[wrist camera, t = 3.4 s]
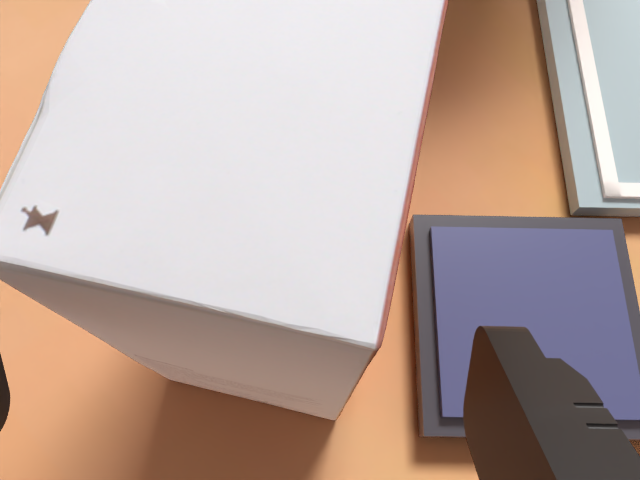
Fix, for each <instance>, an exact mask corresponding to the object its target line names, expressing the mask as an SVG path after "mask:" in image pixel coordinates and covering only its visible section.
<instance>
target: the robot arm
mask: <svg viewBox="0 0 640 480" xmlns="http://www.w3.org/2000/svg"><path fill="white" fill-rule="evenodd" d="M603 404H604V403H603V402H602V400H601V399H600V397H599V396H598V394H597V393H596V391H595V390H594V388H593V387H592V385H591V384H590V382H589V381H588V380H587V378H585V377H584V376H583V375H581V374H580V373H579V372H577V371H576V370H575V369H574V368H572V367H571V366H570V365H568V364H567V363H566V362H564V361H563V360H562V359H561V358H546V357H545V356H544V354H543V352H542V351H541V349H540V347H539V346H538V344H537V343H536V341H535V339H534V338H533V336H532V334H531V333H530V331H529V330H528V329H527V328H526V327H514V326H479V327H477V329H476V331H475V334H474V339H473V345H472V351H471V358H470V364H469V371H468V377H467V384H466V390H465V397H464V405H463V419H464V429H465V435H466V439H467V443H468V446H469V449H470V452H471V455H472V459H473V462H474V465H475V468H476V471H477V474H478V477H479V480H640V456H639V454H638V453H637V451H636V450H635V448H634V447H633V446H632V444H631V443H630V441H629V440H628V438H627V437H626V435H625V434H624V432H623V431H622V429H618V424H617V422H616V421H615V419H614V418H613V416H612V415H611V413H610V412H609V410H608V409H607V408H604V406H603ZM9 406H10V391H9V387H8V383H7V378H6V374H5V370H4V366H3V362H2V358H1V354H0V431H1V429H2V428H3V426H4V424H5V421H6V419H7V416H8V412H9Z"/></svg>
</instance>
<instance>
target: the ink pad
mask: <svg viewBox="0 0 640 480" xmlns="http://www.w3.org/2000/svg"><path fill="white" fill-rule="evenodd" d="M409 228H410V249H411V271H412V293H413V314H414V336H415V358H416V380H417V401H418V423H419V437H451V438H466V435H465V429H464V419H463V405H464V397H465V390H466V384H467V377H468V371H469V364H470V358H471V351H472V345H473V339H474V334H475V331H476V329H477V327H479V326H514V327H526V328H527V329H528V330H529V331H530V333H531V334H532V336H533V338H534V339H535V341H536V343H537V344H538V346H539V347H540V349H541V351H542V352H543V354H544V356H545V357H546V358H561V359H562V360H563V361H564V362H566V363H567V364H568V365H570V366H571V367H572V368H574V369H575V370H576V371H577V372H579V373H580V374H581V375H583V376H584V377H585V378H587V380H588V381H589V382H590V384H591V385H592V387H593V388H594V390H595V391H596V393H597V394H598V396H599V397H600V399H601V400H602V402H603V403H604V404H603V406H604V408H607V409H608V410H609V412H610V413H611V415H612V416H613V418H614V419H615V421H616V422H617V424H618V429H622V431H623V432H624V434H625V435H626V437H627V438H628V440H638V441H640V311H639V306H638V301H637V296H636V291H635V286H634V280H633V275H632V270H631V265H630V260H629V255H628V249H627V244H626V239H625V234H624V229H623V224H622V219H614V218H561V217H508V216H455V215H413V216H412V219H411V221H410V223H409Z"/></svg>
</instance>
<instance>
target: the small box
mask: <svg viewBox="0 0 640 480" xmlns="http://www.w3.org/2000/svg"><path fill="white" fill-rule="evenodd" d="M447 6H448V0H91V1H90V3H89V4H88V6H87V8H86V9H85V11H84V13H83V14H82V16H81V18H80V19H79V21H78V23H77V24H76V26H75V28H74V29H73V31H72V33H71V34H70V36H69V38H68V40H67V42H66V44H65V46H64V48H63V50H62V52H61V54H60V56H59V58H58V60H57V62H56V65H55V67H54V70H53V72H52V75H51V77H50V80H49V82H48V85H47V87H46V89H45V91H44V94H43V96H42V100H41V103H40V106H39V108H38V110H37V113H36V115H35V118H34V120H33V122H32V124H31V126H30V128H29V130H28V132H27V134H26V136H25V138H24V140H23V143H22V145H21V147H20V149H19V151H18V154H17V156H16V158H15V160H14V162H13V164H12V166H11V168H10V170H9V172H8V174H7V176H6V178H5V181H4V183H3V185H2V187H1V190H0V280H2V281H3V282H5V283H7V284H8V285H10V286H12V287H13V288H15V289H17V290H18V291H20V292H22V293H23V294H25V295H27V296H28V297H30V298H32V299H33V300H35V301H37V302H39V303H40V304H42V305H44V306H45V307H47V308H49V309H50V310H52V311H54V312H55V313H57V314H59V315H61V316H62V317H64V318H66V319H67V320H69V321H71V322H73V323H74V324H76V325H78V326H79V327H81V328H83V329H84V330H86V331H88V332H89V333H91V334H93V335H94V336H96V337H98V338H99V339H101V340H102V341H104V342H106V343H107V344H109V345H110V346H112V347H114V348H115V349H117V350H118V351H120V352H122V353H123V354H125V355H127V356H128V357H130V358H131V359H133V360H135V361H137V362H138V363H140V364H142V365H144V366H145V367H147V368H149V369H152V370H153V371H155V372H157V373H158V374H160V375H162V376H164V377H165V378H167V379H169V380H173V381H177V382H181V383H185V384H189V385H193V386H197V387H201V388H205V389H209V390H213V391H217V392H221V393H226V394H230V395H234V396H238V397H242V398H246V399H250V400H254V401H258V402H262V403H266V404H270V405H274V406H278V407H282V408H286V409H290V410H294V411H298V412H302V413H306V414H310V415H314V416H318V417H322V418H326V419H330V420H337V419H338V417H339V416H340V414H341V412H342V410H343V408H344V406H345V404H346V403H347V401H348V400H349V398H350V396H351V395H352V393H353V391H354V389H355V387H356V385H357V384H358V382H359V380H360V379H361V377H362V375H363V373H364V372H365V370H366V368H367V366H368V365H369V363H370V362H371V360H372V359H373V357H374V356H375V355H376V353H377V351H378V350H379V348H380V347H381V345H382V341H383V337H384V334H385V330H386V325H387V320H388V315H389V310H390V305H391V300H392V295H393V290H394V285H395V280H396V275H397V270H398V264H399V259H400V254H401V249H402V243H403V238H404V233H405V228H406V223H407V218H408V213H409V208H410V203H411V198H412V192H413V187H414V181H415V176H416V170H417V165H418V160H419V154H420V149H421V143H422V138H423V133H424V128H425V123H426V117H427V112H428V107H429V102H430V97H431V91H432V86H433V80H434V74H435V69H436V63H437V57H438V52H439V46H440V40H441V35H442V30H443V25H444V20H445V16H446V11H447Z"/></svg>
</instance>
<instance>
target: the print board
mask: <svg viewBox="0 0 640 480" xmlns="http://www.w3.org/2000/svg"><path fill="white" fill-rule="evenodd" d="M537 7H538V13H539V19H540V25H541V32H542V38H543V44H544V51H545V57H546V63H547V70H548V76H549V82H550V88H551V95H552V101H553V107H554V114H555V120H556V126H557V133H558V139H559V145H560V151H561V158H562V164H563V170H564V177H565V183H566V189H567V195H568V202H569V208H570V214H571V215H575V216H628V217H640V0H537Z"/></svg>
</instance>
